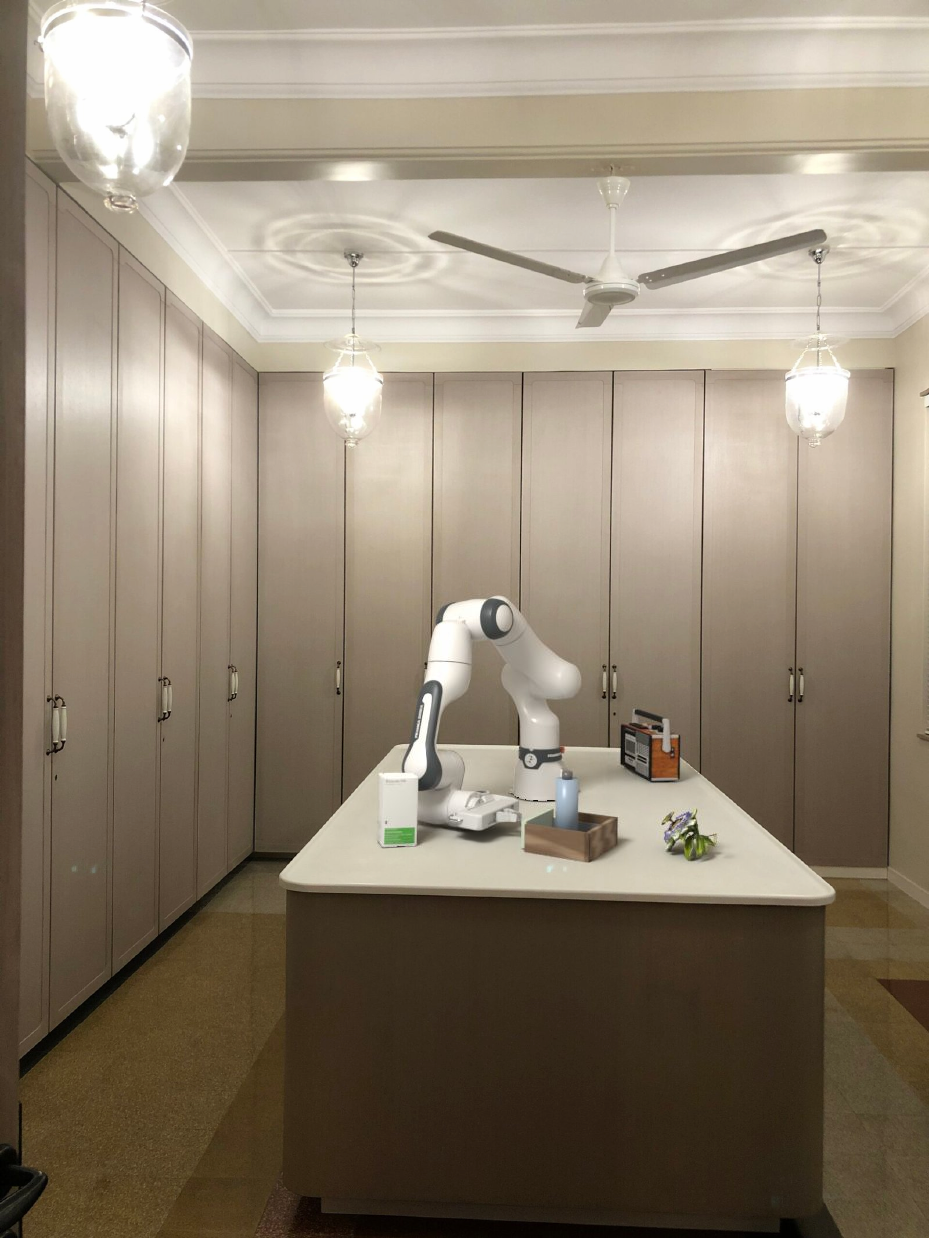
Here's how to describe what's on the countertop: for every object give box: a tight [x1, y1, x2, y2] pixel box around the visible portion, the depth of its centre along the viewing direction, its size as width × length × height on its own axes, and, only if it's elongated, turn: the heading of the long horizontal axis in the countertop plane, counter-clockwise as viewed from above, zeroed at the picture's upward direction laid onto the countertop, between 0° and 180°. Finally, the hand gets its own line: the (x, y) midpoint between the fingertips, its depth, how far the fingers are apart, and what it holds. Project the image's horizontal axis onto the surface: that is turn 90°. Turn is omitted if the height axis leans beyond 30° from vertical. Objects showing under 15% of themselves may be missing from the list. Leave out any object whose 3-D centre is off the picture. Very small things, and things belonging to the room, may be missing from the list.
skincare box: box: [376, 772, 418, 848], centre depth 194 cm, size 8×7×16 cm
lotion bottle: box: [555, 770, 579, 831], centre depth 192 cm, size 5×5×16 cm
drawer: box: [520, 807, 600, 849], centre depth 192 cm, size 15×15×6 cm
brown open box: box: [523, 810, 619, 863], centre depth 192 cm, size 17×15×6 cm
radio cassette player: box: [619, 708, 681, 783], centre depth 279 cm, size 29×10×20 cm, turn 9°
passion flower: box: [661, 808, 718, 862], centre depth 188 cm, size 11×11×12 cm
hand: (519, 817), depth 198 cm, fingers closed
